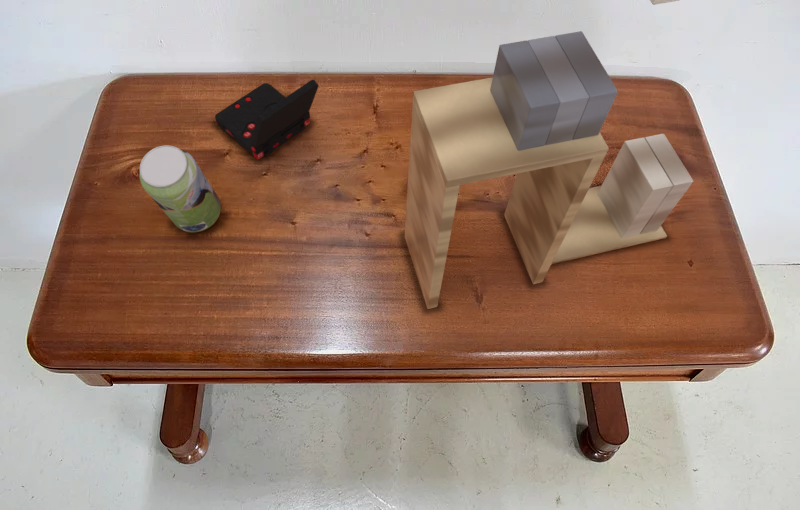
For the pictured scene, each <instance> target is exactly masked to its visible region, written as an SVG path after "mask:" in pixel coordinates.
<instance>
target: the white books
mask: <svg viewBox="0 0 800 510" xmlns="http://www.w3.org/2000/svg"><path fill="white" fill-rule="evenodd" d="M693 183H694V179H693V178H692V176H691V175H690V172H689V171H688V170H687V168H686V167H685V165H684V163H683V162H682V160H681V158H680V157H679V155H678V154H677V152H676V150H675V149H674V147H673V146H672V144H671V143H670V141H669V139H668V138H667V136H666V134H665V133H659V134H653V135H649V136H645V137H643V136H642V137H638V138H634V139H627V140H624V142H623V144H622V146H621V147H620V149H619V152H618V153H617V155H616V158H615V159H614V161H613V162H612V165H611V167H610V169H609V170H608V172H607V174H606V176H605V178H604V180H603V182H602V184H601V185H597V186H593V187H589V190H588V192H587V194H586V196H585V198H584V200H583V202H582V204H581V206H580V208H579V210H578V212H577V214H576V216H575V218H574V220H573V222H572V224H571V226H570V228H569V230H568V232H567V234H566V236H565V238H564V240H563V242H562V244H561V246H560V248H559V250H558V252H557V254H556V256H555V258H554V260H553V262H552V264H551V265H554V264H557V263H563V262H568V261H572V260H576V259H579V258H585V257H589V256H593V255H596V254H602V253H607V252H611V251H615V250H620V249H624V248H628V247H633V246H637V245H642V244H646V243H649V242H654V241H658V240H659V241H660V240H663V239H666V238H667V237H668V235H667V233H666V231H665V230H664V227H663V223H664V222H665V221H666V220H667V218H669V216H670V214H671V213H672V211H673V210H674V208H676V206H677V204H678V203H679V202H680V201H681V199H682V198H683V196H684V195H685V194H686V193H687V191H688V190H689V188H690V187H691V185H692V184H693Z"/></svg>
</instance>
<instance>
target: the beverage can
mask: <svg viewBox="0 0 800 510" xmlns="http://www.w3.org/2000/svg"><path fill="white" fill-rule="evenodd" d="M139 182H140V185H141V186H142V188H143V190H144V191H145V192H146V193H147V194H148V195H149V197H150V198H151V199H152V200H153V201H154V202H155V203H156V205H157V206H158V207H159V208H160V209H161V210H162V211H163V213H164V214H165V215H166V216H167V217H168V218H169V219H170V221H171V222H172V223H173V224H174V226H176V227H177V228H178V229H179V230H181V231H183V232H186V233H199V232H203V231H205V230H207V229H209V228H210V227H212V226H213V225H214V224H215V223H216V222H217V220H218V219H219V217H220V214H221V211H222V204H221V200H220V198H219V196H218V194H217V193H216V191H215V190H214V188H213V187H212V185H211V184H210V182H209V180H208V179H207V178H206V176H205V174H204V173H203V171H202V169H201V168H200V166H199V165H198V163H197V162H196V160H195V158H194V157H193V156H192V155H191V153H190V152H188V151H186V150H185V149H182V148H179V147H177V146H173V145H168V144H167V145H161V146H157V147H154V148H152V149H151V150H149V151H148V152H147V153H145V154H144V156H143V158H142V159H141V161H140V165H139Z"/></svg>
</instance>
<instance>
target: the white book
mask: <svg viewBox="0 0 800 510" xmlns="http://www.w3.org/2000/svg"><path fill="white" fill-rule="evenodd" d="M676 1H677V2H678V1H679V0H649V2H650V3H651V4H652V5H653V6H655V5H661V4H667V3H672V2H676Z"/></svg>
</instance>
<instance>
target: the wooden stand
mask: <svg viewBox="0 0 800 510" xmlns="http://www.w3.org/2000/svg"><path fill="white" fill-rule="evenodd" d="M496 55H497V56H496V60H495V65H494V69H493V74H492V77H487V78H480V79H475V80H470V81H464V82H458V83H453V84H452V83H451V84H447V85H441V86H436V87H430V88H424V89H418V90H414V91H413V94H412V105H411V106H412V107H411V108H412V109H411V123H410V124H411V125H410V143H409V155H408V156H409V157H408V158H409V159H408V174H407V189H406V190H407V191H406V193H407V194H406V207H405V224H404V225H405V226H404V240H405V243H406V246H407V249H408V252H409V255H410V258H411V261H412V265H413V268H414V271H415V274H416V277H417V280H418V284H419V287H420V290H421V293H422V296H423V300H424V302H425V303H424V304H425V306H426V309H427V310H430V309H433V308H437V307H438V306H439V300H440V295H441V289H442V284H443V279H444V273H445V269H446V263H447V258H448V252H449V247H450V242H451V235H452V230H453V226H454V225H453V224H454V219H455V215H456V214H455V213H456V210H457V203H458V197H459V192H460V187H461V186H463V185H468V184H472V183H479V182H483V181H487V180H488V181H489V180H492V179H498V178H503V177H508V176H512V175H515V178H514V182H513V185H512V189H511V192H510V195H509V198H508V201H507V205H506V208H505V210H504V214H503V215H504V219H505V221H506V223H507V226H508V228H509V230H510V233H511V235H512V238H513V240H514V242H515V245H516V247H517V251H518V252H519V255H520V258H521V259H522V261H523V263H524V266H525V269H526V271H527V274H528V276H529V278H530V280H531V283H532V285H536V284H540V283H544V279H545V278H546V277H547V274H548V271H549V270H550V268H551V266H552V265H553V264H552V262H553V260H554V258H555V256H556V254H557V252H558V250H559V248H560V246H561V244H562V242H563V240H564V238H565V236H566V234H567V232H568V230H569V228H570V226H571V224H572V222H573V220H574V218H575V216H576V214H577V212H578V210H579V208H580V206H581V204H582V202H583V200H584V198H585V196H586V194H587V192H588V190H589V188H591V185H592V183H593V182H594V180H595V177H596V176H597V173H598V171H599V169H600V168H601V165H602V163H603V162H604V160H605V157H606V155H607V153H608V151H609V146H608V145H607V142H606V141H605V139H604V137H603V135H602V133H601V131H602V128H603V125H604V124H605V121H606V119H607V116H608V115H609V112H610V110H611V109H612V106H613V104H614V102H615V99H616V98H617V95H618V92H619V90H618V89H617V87H616V85H615V84H614V82H613V80H612V79H611V77H610V75H609V74H608V72H607V70H606V69H605V67H604V65H603V64H602V62H601V61H600V59H599V57H598V56H597V54H596V52H595V51H594V48H593V46H591V44H590V42H589V41H588V39H587V38H586V36H585V34H584V32H583V31H582V30H580V31H574V32H567V33H562V34H557V35H550V36H544V37H538V38H532V39H528V40H520V41H515V42H508V43H502V44H499V45H498V51H497V54H496Z"/></svg>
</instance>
